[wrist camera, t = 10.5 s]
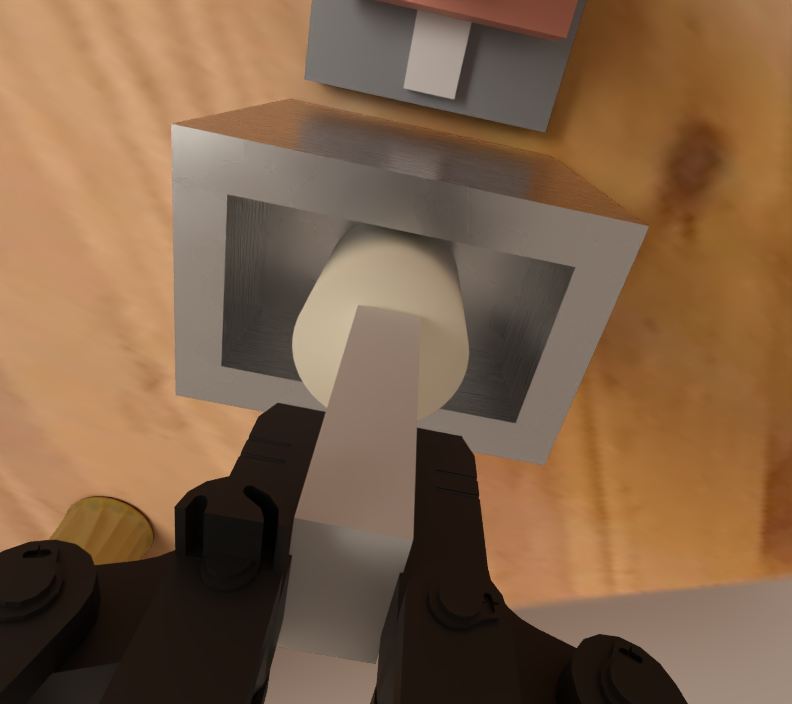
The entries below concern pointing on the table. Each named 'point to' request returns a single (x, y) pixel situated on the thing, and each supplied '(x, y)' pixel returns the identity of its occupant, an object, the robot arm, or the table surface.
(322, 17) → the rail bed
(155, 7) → the table surface
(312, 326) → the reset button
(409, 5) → the carriage
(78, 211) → the table surface
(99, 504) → the vase
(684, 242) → the table surface
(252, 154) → the grey box holder
